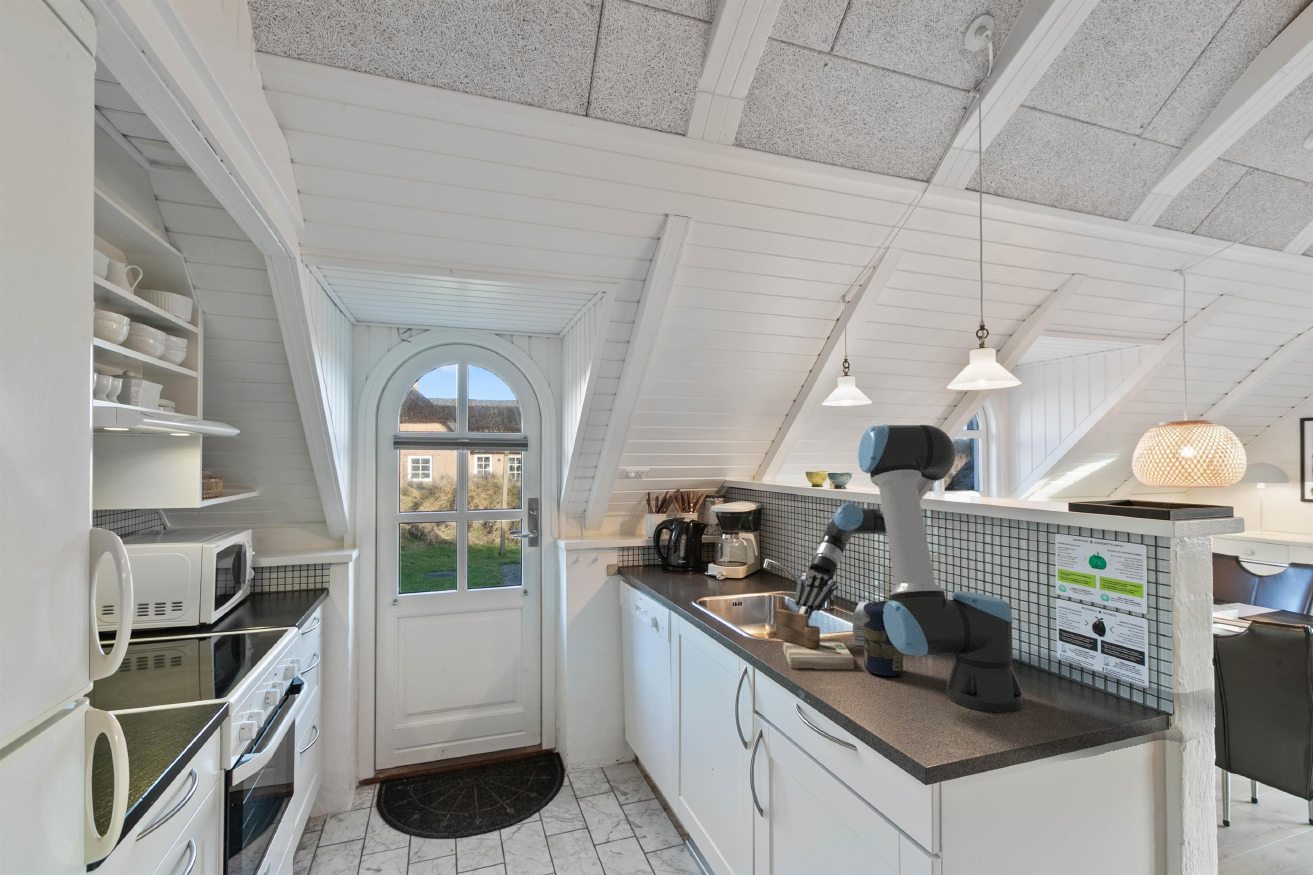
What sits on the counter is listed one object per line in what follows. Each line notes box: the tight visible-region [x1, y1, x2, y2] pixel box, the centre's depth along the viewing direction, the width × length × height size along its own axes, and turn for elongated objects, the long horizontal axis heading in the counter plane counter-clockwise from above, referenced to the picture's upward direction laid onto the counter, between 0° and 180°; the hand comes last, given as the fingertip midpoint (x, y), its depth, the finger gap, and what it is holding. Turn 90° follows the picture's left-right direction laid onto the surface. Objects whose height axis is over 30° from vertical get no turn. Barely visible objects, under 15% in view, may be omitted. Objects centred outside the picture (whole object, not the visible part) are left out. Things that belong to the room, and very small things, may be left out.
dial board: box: [782, 638, 855, 670], centre depth 168 cm, size 16×16×3 cm
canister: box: [863, 600, 905, 677], centre depth 157 cm, size 10×10×18 cm
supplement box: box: [852, 601, 871, 647], centre depth 185 cm, size 17×13×9 cm
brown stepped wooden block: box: [775, 608, 836, 651], centre depth 169 cm, size 18×4×8 cm, turn 46°
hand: (797, 628), depth 176 cm, fingers closed
